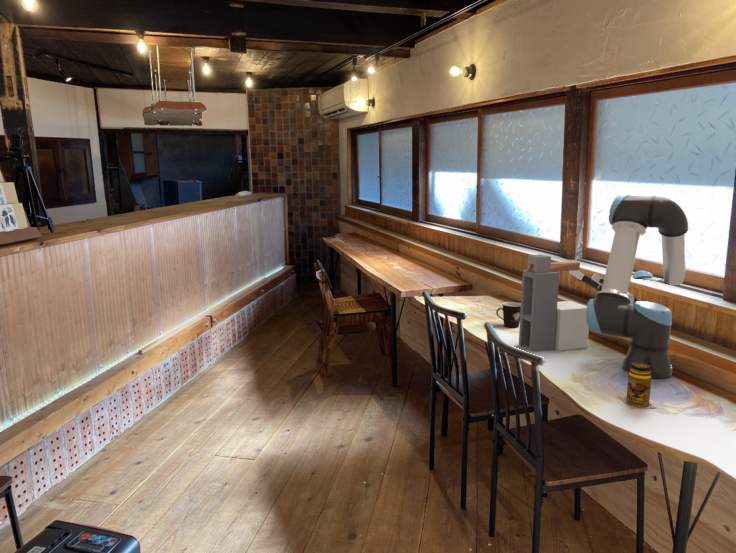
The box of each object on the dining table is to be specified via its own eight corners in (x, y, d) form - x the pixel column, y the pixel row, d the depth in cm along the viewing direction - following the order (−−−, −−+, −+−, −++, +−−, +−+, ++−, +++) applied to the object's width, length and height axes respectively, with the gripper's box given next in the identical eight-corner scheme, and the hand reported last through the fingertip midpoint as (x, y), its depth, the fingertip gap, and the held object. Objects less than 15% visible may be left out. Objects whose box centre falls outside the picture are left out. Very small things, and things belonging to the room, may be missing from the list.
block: (587, 347, 212) (590, 307, 209) (558, 350, 208) (561, 309, 205) (568, 338, 223) (570, 300, 220) (540, 341, 220) (542, 302, 217)
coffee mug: (519, 323, 246) (520, 302, 244) (523, 329, 237) (524, 306, 235) (493, 323, 247) (494, 301, 245) (495, 328, 238) (496, 306, 237)
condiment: (630, 408, 157) (634, 369, 155) (617, 396, 165) (621, 359, 163) (656, 408, 157) (660, 369, 155) (641, 397, 165) (645, 359, 163)
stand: (554, 349, 209) (559, 272, 204) (531, 351, 207) (535, 274, 201) (540, 342, 218) (545, 268, 212) (518, 344, 215) (522, 270, 210)
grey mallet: (581, 270, 208) (583, 255, 207) (536, 273, 203) (536, 257, 202) (572, 268, 214) (573, 253, 213) (527, 270, 209) (528, 255, 207)
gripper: (637, 312, 207) (598, 287, 201) (593, 298, 231) (557, 275, 224) (646, 295, 207) (608, 269, 201) (602, 282, 231) (566, 259, 224)
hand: (581, 272), depth 212 cm, fingers open, 13 cm apart
